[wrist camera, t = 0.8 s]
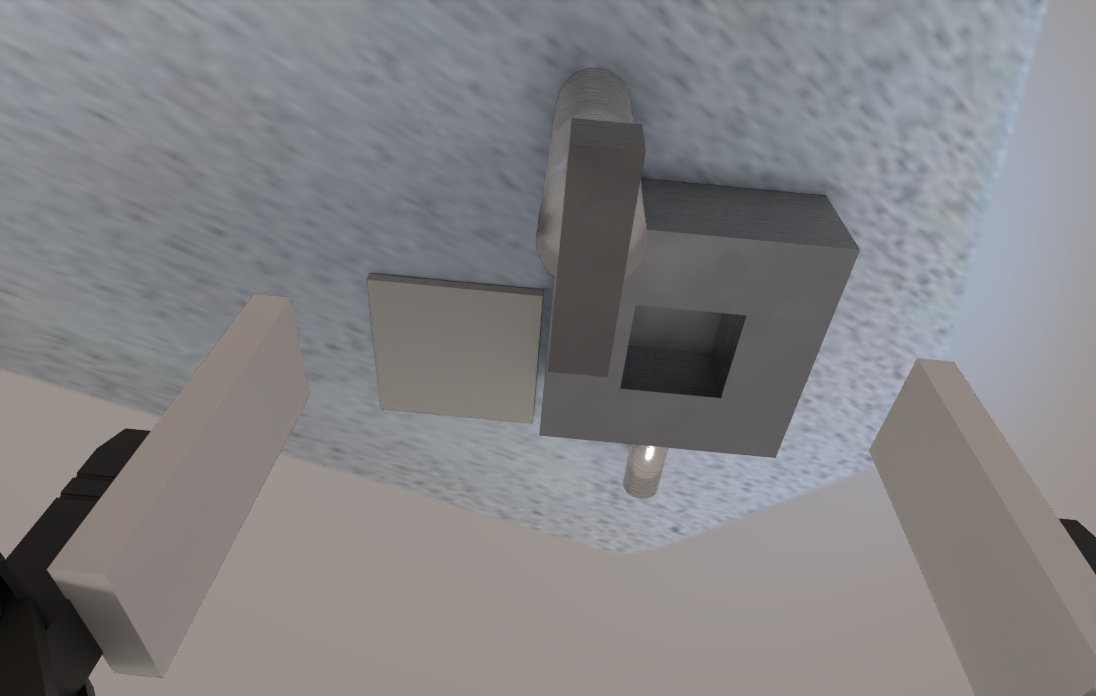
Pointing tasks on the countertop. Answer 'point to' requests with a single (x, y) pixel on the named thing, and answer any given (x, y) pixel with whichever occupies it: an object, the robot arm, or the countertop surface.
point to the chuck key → (591, 217)
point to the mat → (455, 347)
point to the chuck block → (710, 327)
